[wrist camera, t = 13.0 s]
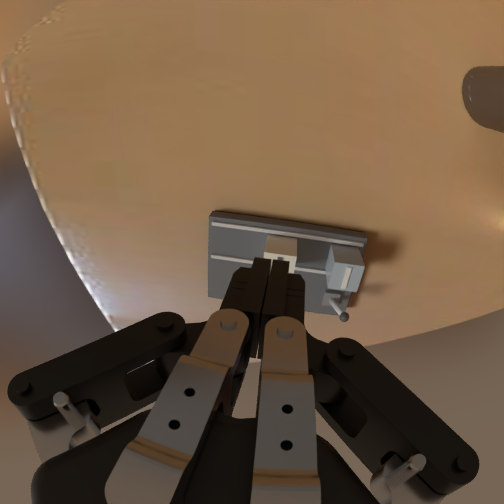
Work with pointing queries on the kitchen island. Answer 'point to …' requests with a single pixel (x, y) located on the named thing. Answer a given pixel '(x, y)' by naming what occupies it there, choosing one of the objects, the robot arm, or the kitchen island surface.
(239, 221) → the panel
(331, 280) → the slate-blue fader knob
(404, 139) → the kitchen island surface
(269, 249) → the cream fader knob
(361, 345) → the robot arm
